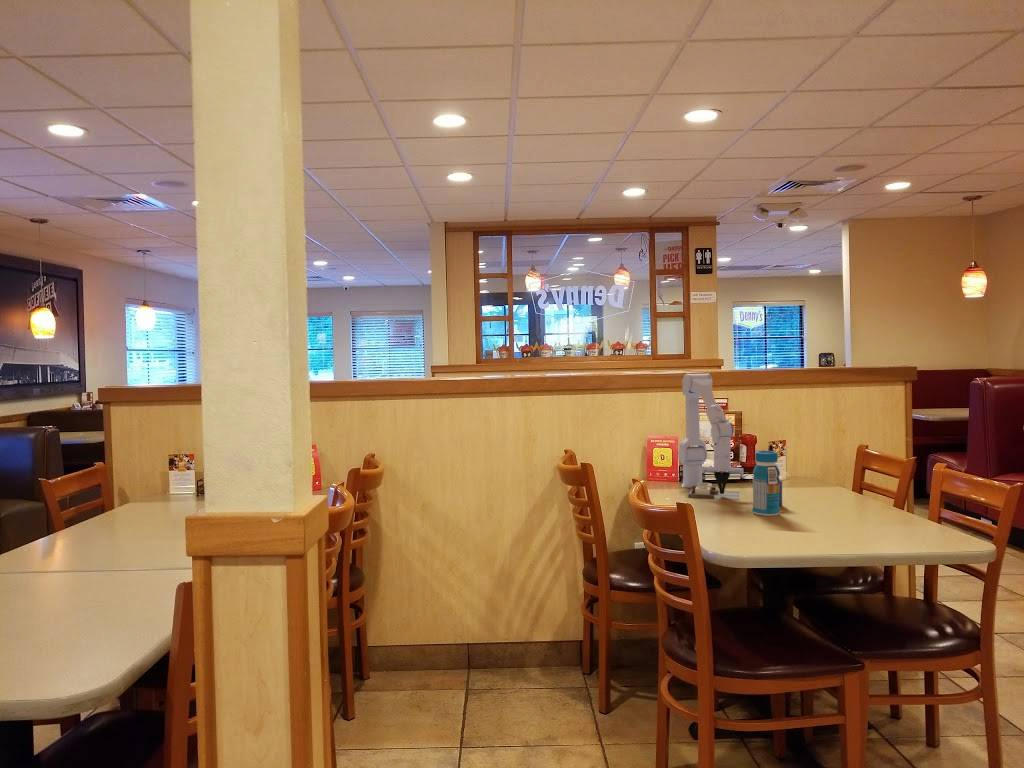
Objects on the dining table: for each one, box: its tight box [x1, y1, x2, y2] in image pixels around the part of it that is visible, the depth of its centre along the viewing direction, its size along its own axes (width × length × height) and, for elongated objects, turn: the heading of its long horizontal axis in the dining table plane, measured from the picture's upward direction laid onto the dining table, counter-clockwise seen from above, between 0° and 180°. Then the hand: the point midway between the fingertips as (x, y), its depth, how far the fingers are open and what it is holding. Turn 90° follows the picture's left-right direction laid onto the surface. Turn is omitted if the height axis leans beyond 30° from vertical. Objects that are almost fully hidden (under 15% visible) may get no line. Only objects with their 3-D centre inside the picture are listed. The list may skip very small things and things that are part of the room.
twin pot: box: [697, 481, 713, 490], centre depth 281 cm, size 5×5×3 cm
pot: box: [695, 486, 710, 495], centre depth 274 cm, size 5×5×3 cm
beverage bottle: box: [751, 450, 781, 517], centre depth 244 cm, size 8×8×20 cm
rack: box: [686, 486, 741, 501], centre depth 276 cm, size 17×18×2 cm
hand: (722, 493), depth 272 cm, fingers closed
